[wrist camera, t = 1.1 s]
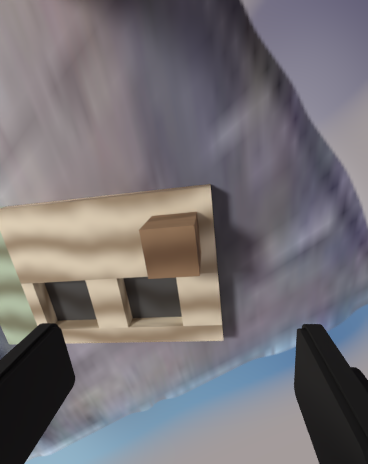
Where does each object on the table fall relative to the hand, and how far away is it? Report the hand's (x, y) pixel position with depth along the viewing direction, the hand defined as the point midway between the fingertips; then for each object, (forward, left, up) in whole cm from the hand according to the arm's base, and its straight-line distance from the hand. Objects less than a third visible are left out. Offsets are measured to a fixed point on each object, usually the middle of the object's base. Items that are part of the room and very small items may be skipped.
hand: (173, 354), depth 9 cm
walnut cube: (+3, -3, -22) cm, 22 cm away
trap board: (+9, -17, -24) cm, 31 cm away
